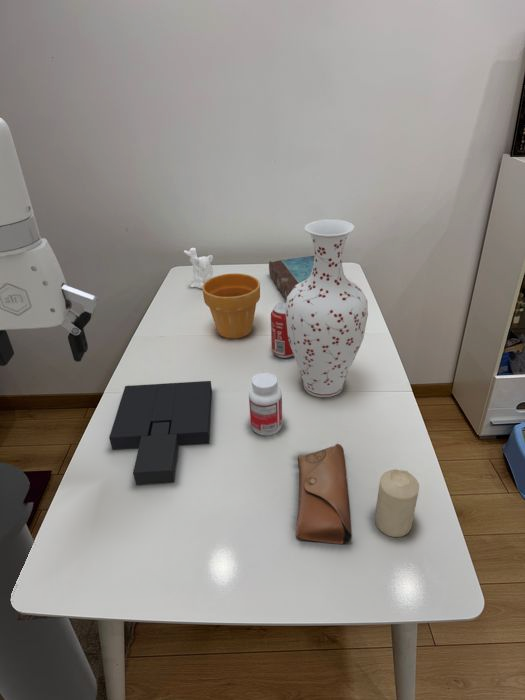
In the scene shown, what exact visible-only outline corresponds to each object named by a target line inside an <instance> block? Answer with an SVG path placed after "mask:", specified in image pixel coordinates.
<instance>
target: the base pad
mask: <svg viewBox="0 0 525 700" xmlns="http://www.w3.org/2000/svg"><path fill="white" fill-rule="evenodd" d="M212 398H213V390H212V381H211V380H202V381H200V380H199V381H185V382H184V381H183V382H167V383H152V384H151V383H150V384H135V385H134V384H131V385H124V389H123V392H122V395H121V398H120V401H119V404H118V408H117V412H116V415H115V417H114V421H113V424H112V427H111V431H110V433H109V437H108V439H109V443H110V446H111V450H113V451H114V450H115V451H116V450H129V449H139V444H140V440H141V436H150V435H151V430H152V425H153V423H161V422H170V426H171V428H170V434H177V438H178V444H179V447H180V446H193V445H195V446H196V445H209V444H210V435H211V417H212Z"/></svg>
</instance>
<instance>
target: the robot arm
mask: <svg viewBox="0 0 525 700" xmlns="http://www.w3.org/2000/svg"><path fill="white" fill-rule="evenodd" d="M98 300H99V299H98V297H97V296H96V295H93V294H91V293H88V292H85V291H83V290H81V289H77V288H75V287H72V286H69V285H68V284H67V281H66V278H65V276H64V273H63V270H62V267H61V265H60V263H59V261H58V259H57V256H56V254H55V252H54V250H53V248H52V247H51V245H50V243H49V241H48V240H47V238H45V237H42V236H41V233H40V230H39V226H38V223H37V219H36V216H35V212H34V208H33V205H32V202H31V198H30V194H29V191H28V187H27V184H26V180H25V176H24V174H23V169H22V166H21V163H20V160H19V156H18V153H17V148H16V146H15V141H14V139H13V136H12V132H11V129H10V126H9V124H8V123H7V122H6V121H5V120H4V119H3V118H2V117H0V367H5V366H7V365H8V363H9V362H10V361H11V360H12V358H13V356H14V355H15V350H14V348H13V345H12V342H11V340H10V338H9V337H10V336H9V334H8V332H7V331H10V330H13V331H14V330H29V329H31V330H33V329H46V328H54V327H58V326H60V327H62V328H63V329H65V330H66V331H67V332H69V334H68V336H67V340H68V344H69V347H70V351H71V354H72V357H73V361H75V362H76V363H78V362H79V363H80V362H81V361H82V359H83V358H84V355H85V353H87V352H88V348H89V345H88V341H87V336H86V333H85V327H86V326H87V325H88V323H89V322H90V321H91V319H92V317H93V316H94V312H95V309H96V306H97V303H98ZM73 303H75V304H77V305H81V306H82V312H81V313H80V314H79V313H77V312H76V311H75V310H74V309H72V307H73Z"/></svg>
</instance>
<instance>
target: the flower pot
mask: <svg viewBox="0 0 525 700" xmlns="http://www.w3.org/2000/svg"><path fill="white" fill-rule="evenodd" d="M201 290H202V295H203V296H202V297H203V302H204V304H205V305H206V306H207V307H208V308H209V310H210V313H211V317H212V319H213V322H214V325H215V327H216V330H217V333H218V334H219V335H220V336H221V337H223V338H226V339H242V338H244V337H246V336H248V335H250V333H251V332H252V331H253V326H254V321H255V315H256V308H257V303H259V301H260V300H261V283H260V281H259V279H258V278H257V277H255V276H253V275H250V274H246V273H237V272H236V273H224V274H220V275H216V276H212V278H211V279H209V280H206V282H205V283H204V284H203V287H202V289H201Z"/></svg>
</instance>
